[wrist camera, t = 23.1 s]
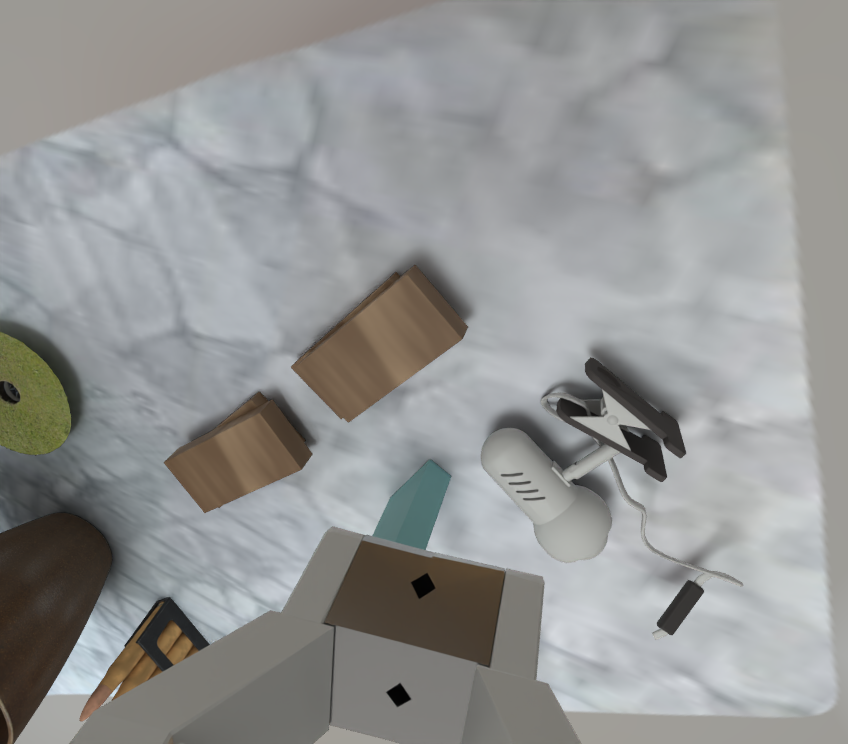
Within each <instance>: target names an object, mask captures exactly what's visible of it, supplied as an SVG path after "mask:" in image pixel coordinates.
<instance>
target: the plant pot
mask: <svg viewBox="0 0 848 744" xmlns="http://www.w3.org/2000/svg"><path fill="white" fill-rule="evenodd" d="M111 564H112V553H111V550H110V547H109V545H108V543H107V541H106V540H105V538H104V537H103V536H102V534H101V533H100V532H99V531H98V530H97V529H96V528H95V527H93V526H92V525H91V524H90V523H88V522H87V521H85V520H83V519H82V518H80V517H77V516H75V515H72V514H67V513H53V514H50V515H47V516H44V517H42V518H39V519H36V520H33V521H30V522H28V523H25V524H22V525H20V526H17V527H15V528H12V529H10V530H7V531H5V532H2V533H0V744H14V743H15V741H16V740H17V738H18V737H19V735H20V734H21V732H22V731H23V729H24V728H25V726H26V725H27V723H28V722H29V720H30V719H31V717H32V716H33V714H34V713H35V711H36V710H37V708H38V707H39V705H40V704H41V702H42V700H43V699H44V697H45V696H46V694H47V693H48V691H49V689H50V688H51V686H52V685H53V683H54V681H55V680H56V678H57V676H58V675H59V673H60V671H61V669H62V668H63V666H64V664H65V663H66V661H67V659H68V657H69V655H70V654H71V652H72V650H73V648H74V646H75V644H76V643H77V641H78V639H79V637H80V635H81V633H82V631H83V629H84V627H85V625H86V623H87V621H88V619H89V617H90V615H91V613H92V611H93V608H94V606H95V604H96V602H97V600H98V597H99V595H100V593H101V590H102V588H103V585H104V583H105V580H106V578H107V575H108V573H109V570H110V567H111Z"/></svg>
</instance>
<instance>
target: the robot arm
mask: <svg viewBox="0 0 848 744" xmlns="http://www.w3.org/2000/svg"><path fill="white" fill-rule="evenodd" d="M543 594H544V580H543V577H542V576H538V575H533V574H529V573H525V572H520V571H516V570H511V569H506V571H505V568H501V567H496V566H492V565H488V564H483V563H479V562H475V561H470V560H466V559H462V558H457V557H453V556H449V555H444V554H440V553H436V552H435V553H434V552H430V551H427V550H423V549H419V548H415V547H411V546H408V545H404V544H400V543H396V542H393V541H389V540H385V539H381V538H378V537H374V536H370V535H362V534H359V533H355V532H352V531H348V530H344V529H341V528H337V527H333V526H332V527H331V528H330V529H329V530H328V531H327V532H326V533H325V534H324V536H323V537H322V539H321V541H320V543H319V545H318V546H317V548H316V550H315V552H314V554H313V556H312V557H311V559H310V561H309V563H308V565H307V567H306V568H305V570H304V572H303V574H302V576H301V577H300V579H299V581H298V583H297V585H296V587H295V588H294V590H293V592H292V594H291V596H290V597H289V599H288V601H287V603H286V605H285V607H284V608H283V610H282V612H281V613H280V612H275V611H271V610H270V611H268V612H267V613H265V614H263V615H261V616H260V617H258V618H256V619H254V620H253V621H251V622H249V623H247V624H246V625H244V626H242V627H240V628H239V629H237V630H235V631H233V632H232V633H230V634H228V635H226V636H225V637H223V638H221V639H219V640H218V641H216V642H214V643H212V644H211V645H209V646H207V647H205V648H204V649H202V650H200V651H198V652H197V653H195V654H193V655H191V656H189V657H188V658H186V659H184V660H182V661H181V662H179V663H177V664H175V665H174V666H172V667H170V668H168V669H167V670H165V671H163V672H161V673H160V674H158V675H156V676H154V677H153V678H151V679H149V680H147V681H146V682H144V683H142V684H140V685H139V686H137V687H135V688H133V689H132V690H130V691H128V692H126V693H125V694H123V695H121V696H119V697H118V698H116V699H114V700H112V701H111V702H109V703H108V704H105V705H104V706H102V707H100V708H98V709H97V710H95V711H93V713H92V714H91V715H90V717H89V718H88V719H87V721H86V722H85V723H84V725H83V726H82V728H81V729H80V730H79V731H78V733H77V734H76V735H75V737H74V738H73V739H72V741H71V742H70V743H69V744H313V743H315V742H316V741H317V740H318V739H319V738H320V737H321V736H322V735H324V734H325V733H326V732H327V731H328V730H329V725H331V726H335V727H339V728H343V729H346V730H350V731H355V732H358V733H362V734H366V735H370V736H374V737H378V738H382V739H385V740H389V741H393V740H394V741H393V742H396V743H399V744H581V742H580V740H579V738H578V737H577V734H576V733H575V731H574V729H573V727H572V725H571V724H570V722H569V720H568V718H567V717H566V715H565V713H564V711H563V709H562V708H561V706H560V704H559V702H558V700H557V699H556V697H555V695H554V693H553V691H552V690H551V688H550V686H549V684H547V683H544V682H541V681H537V680H536V677H537V665H538V654H539V642H540V630H541V618H542V606H543Z"/></svg>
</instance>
